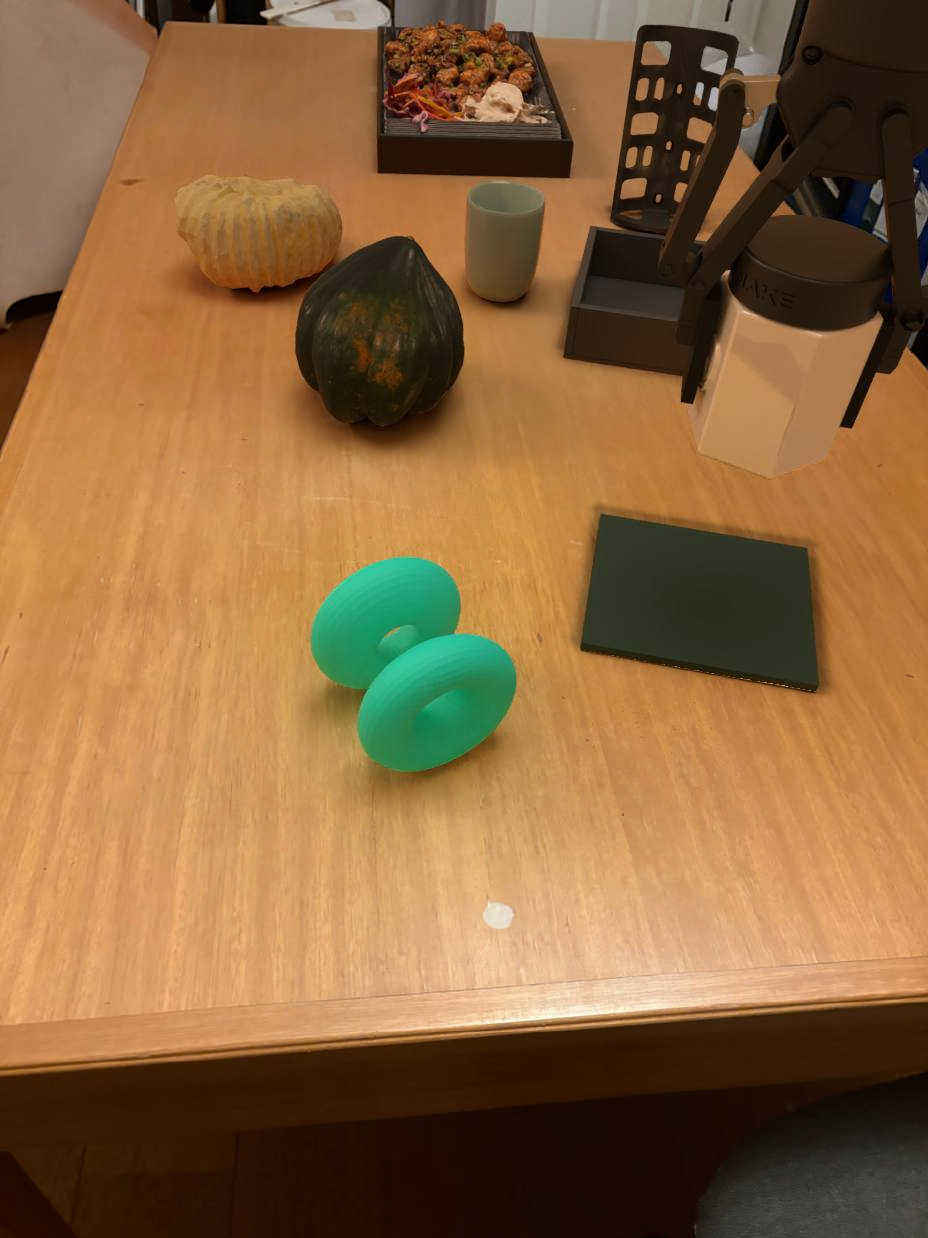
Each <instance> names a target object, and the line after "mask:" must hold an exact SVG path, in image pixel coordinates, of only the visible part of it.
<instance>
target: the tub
mask: <svg viewBox="0 0 928 1238" xmlns="http://www.w3.org/2000/svg"><path fill="white" fill-rule="evenodd" d="M665 236H666V235H664V234H656V233H649V232H648V233H647V232H641V231H640V232H639V231H632V230H625V229H616V228H612V227H611V228H610V227H602V226H596V225H589V229H588V233H587V237H586V240H585V245H584V249H583V254H582V257H581V261H580V266H579V270H578V274H577V278H576V282H575V285H574V290H573V295H572V299H571V303H570V307H569V313H568V314H569V315H568V321H567V329H566V336H565V341H564V349H563V356H562V357H563V358H565V359H570V360H578V361H583V362H584V361H585V362H591V363H596V364H597V363H598V364H603V365H604V364H605V365H611V366H618V367H624V368H630V369H631V368H632V369H637V370H643V371H650V372H656V373H663V374H669V375H676V376H683V373H684V369H685V365H686V361H687V357H688V353H689V349H690V345H683V344H677V340H676V324H677V319H678V315H679V311H680V307H681V303H682V298H683V294H684V288H683V287H682V285H680V284H679V283H677V282H675V281H674V280H670V281H668V280H664V279H662V278H661V277H660V276H659V275H658V262H659V254H660V248H661V245H662V243H663V240H664V238H665ZM706 242H707V240H706V241H705V240H699V239H695V241H694V243H693V245H692V248H691V250H690V252H691V253H693V254H695V255H696V254H697V253H698V252H699V251H700V249H701V248H702V247H703V245H704V244H705V243H706ZM727 270H730V267H729V268H728V269H727ZM727 270H726V271H727ZM721 278H722V276H721V277H720V279H721Z"/></svg>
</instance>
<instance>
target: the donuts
mask: <svg viewBox="0 0 928 1238" xmlns="http://www.w3.org/2000/svg"><path fill="white" fill-rule="evenodd" d="M461 601H462V600H461V594H460V591H459V588H458V586H457V583H456V581H455V580H454V578H453V577H452V575H451V574H450V573H449V572H448V571H447V570H446V569H445V568H444V567H442V566H441V565H440V564H438V563H437V562H434V561H431V560H429V559H426V558H422V557H418V556H395V557H389V558H386V559H382V560H379V561H376V562H372V563H370V564H368V565H366V566H364V567H361V568H360V569H358V570H356V571H354V572H353V573H352V574H350V575H349V576H347V577H346V578H345V579H343V581H341V582H340V583H339V584H338V585H336V587H335V588H334V589H332V591H331V592H330V593H329V594H328V595H327V596H326V598H325V599H324V601H322V604H321V605H320V607H319V608H318V610H317V612H316V614H315V617H314V619H313V622H312V625H311V631H310V640H309V641H310V649H311V653H312V657H313V659H314V661H315V664H316V665H317V667H318V669H319V670H320V671H321V672H322V673H323V674H324V676H326V677H327V678H328V679H329V680H331V681H333V682H334V683H336V684H338V685H341V686H342V687H346V688H350V689H354V690H366V692H365V694H364V696H363V698H362V700H361V702H360V703H361V704H360V707H359V710H358V713H357V728H356V729H357V735H358V739H359V743H360V745H361V747H362V749H363V750H364V752H365V753H366V754H367V756H368V757H369V758H370V759H371V760H372V761H374V763H376V764H378V765H379V766H381V767H384V768H386V769H388V770H391V771H396V772H404V773H405V772H409V773H411V772H422V771H426V770H431V769H434V768H438V767H440V766H443V765H445V764H448V763H451V762H452V761H454V760H456V759H458V758H460V757H462V756H463V755H465V754H467V753H468V752H470V751H471V750H472V749H475V748H476V747H477V746H478V745H479V744H481V743H482V742H483V741H485V739H487V738H488V737H489V736H490V735H491V734H492V733H493V732H494V730H496V729H497V727H498V726H499V725H500V724H501V723H502V721H503V720H504V718H505V717H506V716H507V714H508V713H509V711H510V708H511V706H512V705H513V701H514V699H515V695H516V692H517V685H518V683H517V682H518V677H517V670H516V666H515V664H514V661H513V658H512V657H511V656H510V654H509V653H508V652H507V650H506V649H505V648H503V646H501V645H500V644H499V643H497V642H496V641H494V640H493V639H490V638H488V637H486V636H483V635H479V634H472V633H456V631H457V628H458V626H459V622H460V617H461V613H462V603H461ZM394 630H395V631H394ZM392 631H393V632H392ZM390 632H392V633H390ZM389 633H390V634H389ZM388 634H389V635H388Z"/></svg>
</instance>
